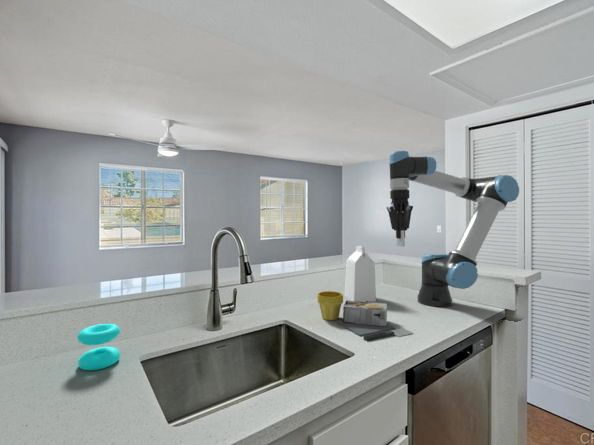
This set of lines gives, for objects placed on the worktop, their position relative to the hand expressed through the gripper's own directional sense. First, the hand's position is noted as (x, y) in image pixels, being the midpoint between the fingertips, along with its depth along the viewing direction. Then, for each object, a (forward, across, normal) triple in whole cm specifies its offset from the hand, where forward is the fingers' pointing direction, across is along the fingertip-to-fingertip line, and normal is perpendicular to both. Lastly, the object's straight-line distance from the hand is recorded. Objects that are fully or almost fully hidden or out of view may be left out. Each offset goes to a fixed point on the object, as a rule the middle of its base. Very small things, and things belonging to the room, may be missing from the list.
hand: (400, 246), depth 132 cm
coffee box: (+25, -14, -6) cm, 29 cm away
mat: (+28, -23, -4) cm, 36 cm away
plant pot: (+28, -29, +10) cm, 42 cm away
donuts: (+25, -108, +8) cm, 112 cm away
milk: (+29, 0, +28) cm, 40 cm away
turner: (+28, -21, -14) cm, 38 cm away
